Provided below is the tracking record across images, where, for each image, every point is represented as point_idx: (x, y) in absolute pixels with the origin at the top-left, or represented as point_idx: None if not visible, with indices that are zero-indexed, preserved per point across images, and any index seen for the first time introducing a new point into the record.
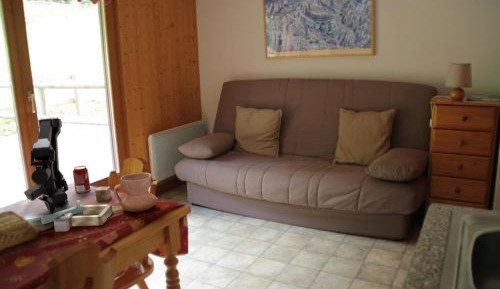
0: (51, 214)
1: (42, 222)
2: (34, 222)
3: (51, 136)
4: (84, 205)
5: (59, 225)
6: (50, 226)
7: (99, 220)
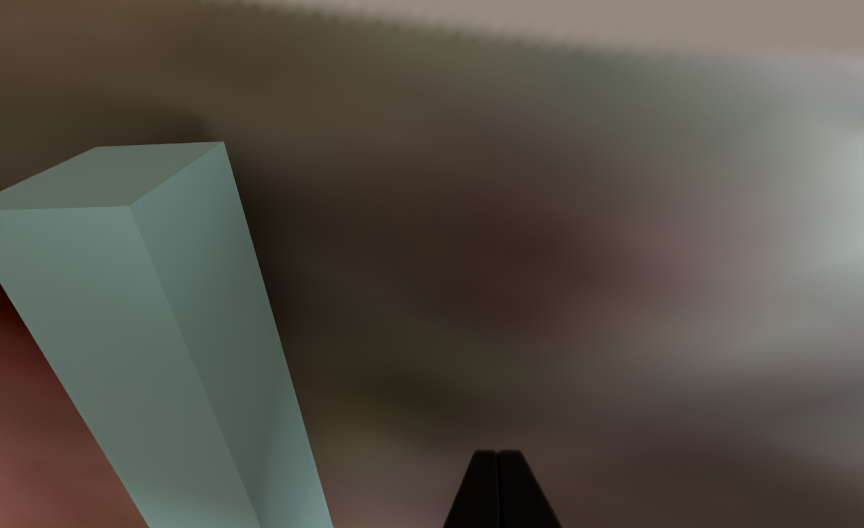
0: (205, 455)
1: (147, 153)
2: (564, 66)
3: None
4: None
5: None
6: None
7: None
